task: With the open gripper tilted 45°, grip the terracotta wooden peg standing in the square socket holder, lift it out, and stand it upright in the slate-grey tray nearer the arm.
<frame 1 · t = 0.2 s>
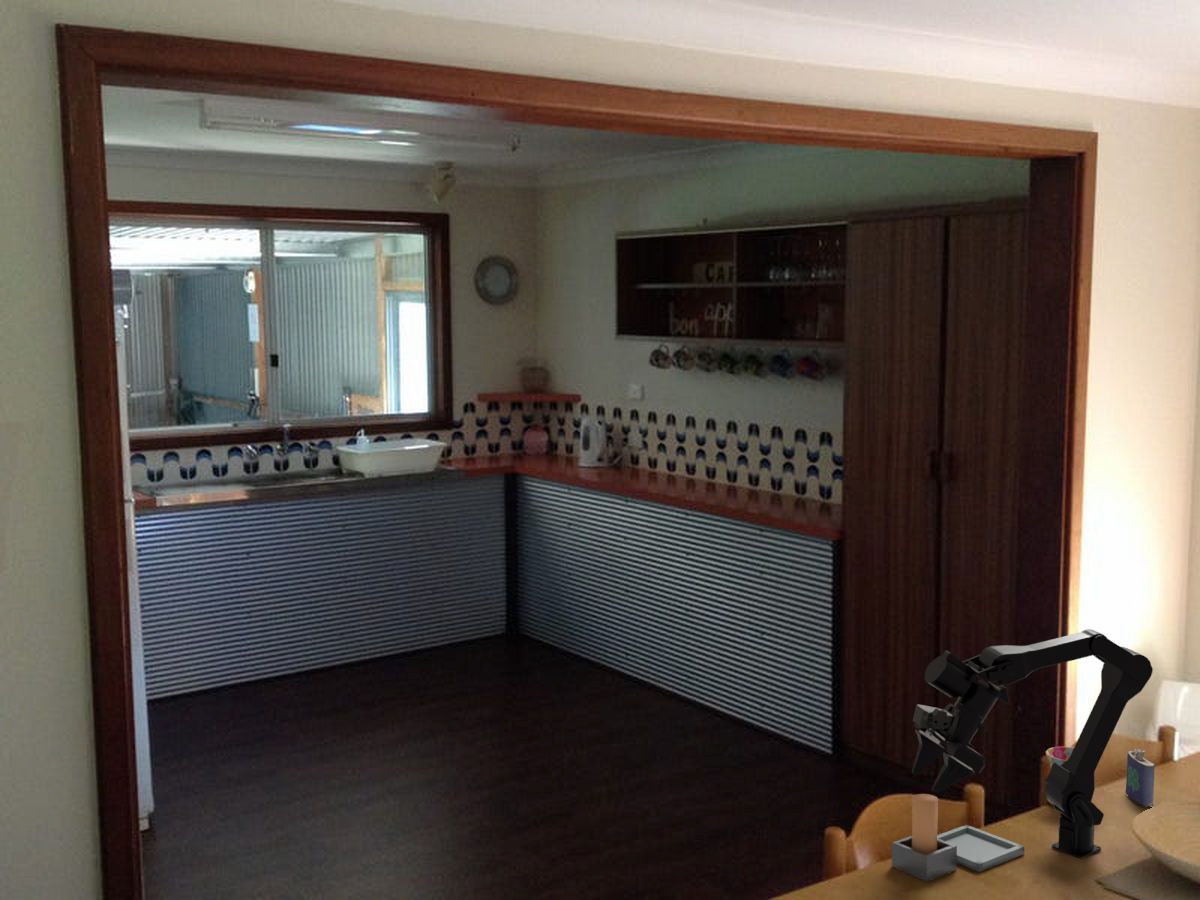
hand: (923, 782, 234), 15 cm above the table, tool tilted 35°, fingers open, 9 cm apart
square socket holder: (924, 868, 232), on the table
flask: (1138, 801, 264), on the table
peg: (924, 833, 231), in the square socket holder
mug: (1073, 804, 263), on the table
tray: (972, 851, 239), on the table
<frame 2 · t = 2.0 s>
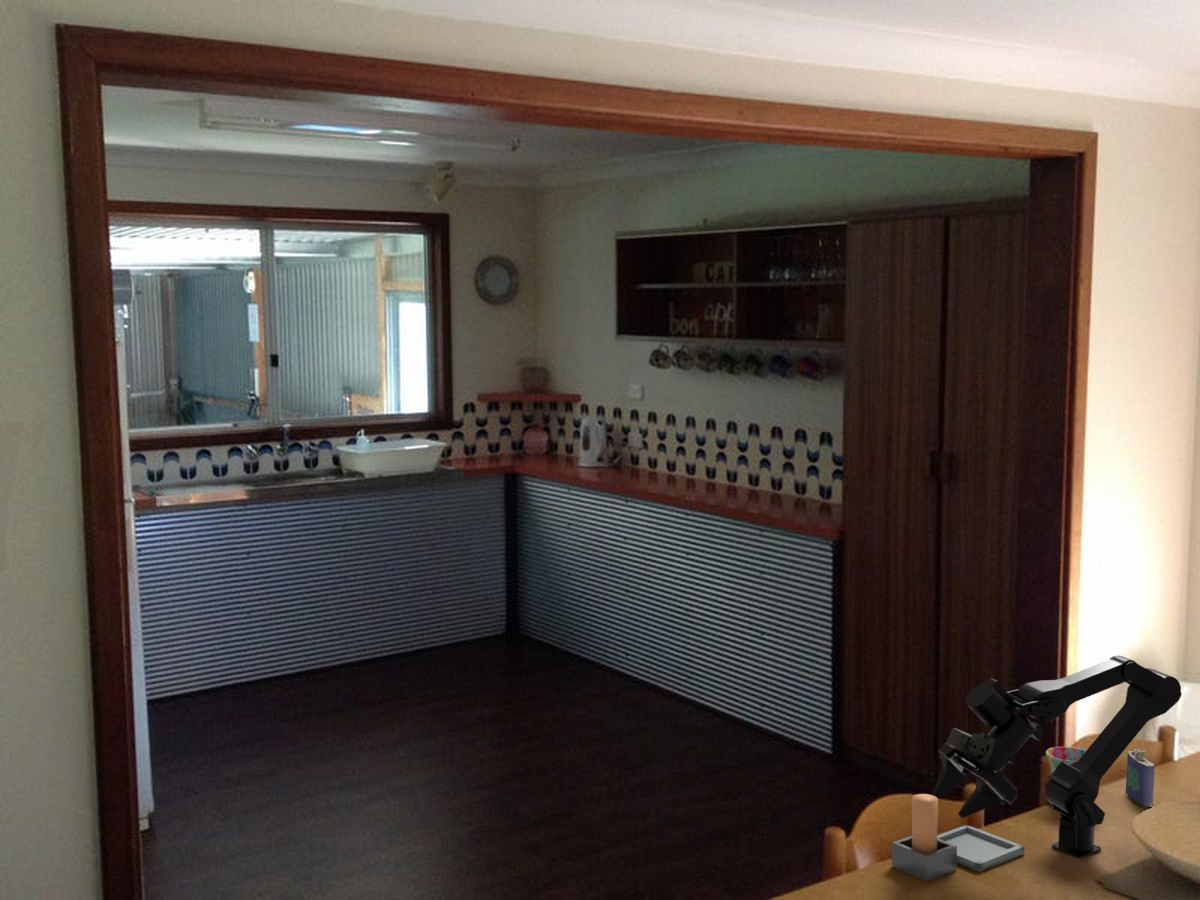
hand: (946, 806, 232), 11 cm above the table, tool tilted 45°, fingers open, 9 cm apart
nothing on the table moved.
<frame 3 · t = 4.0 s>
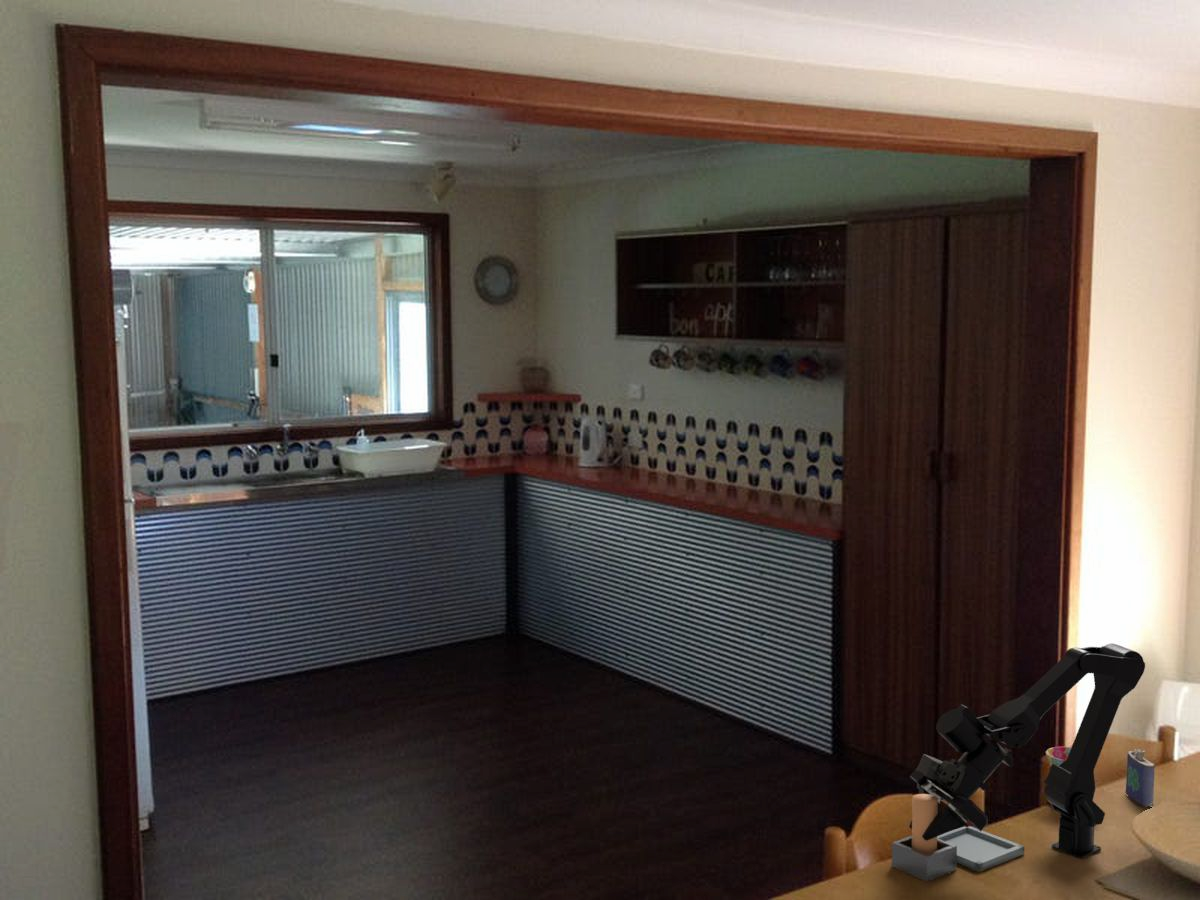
hand: (917, 833, 231), 7 cm above the table, tool tilted 45°, fingers closed on peg, 4 cm apart
peg: (924, 833, 231), in the square socket holder, touching gripper
everything else where it was.
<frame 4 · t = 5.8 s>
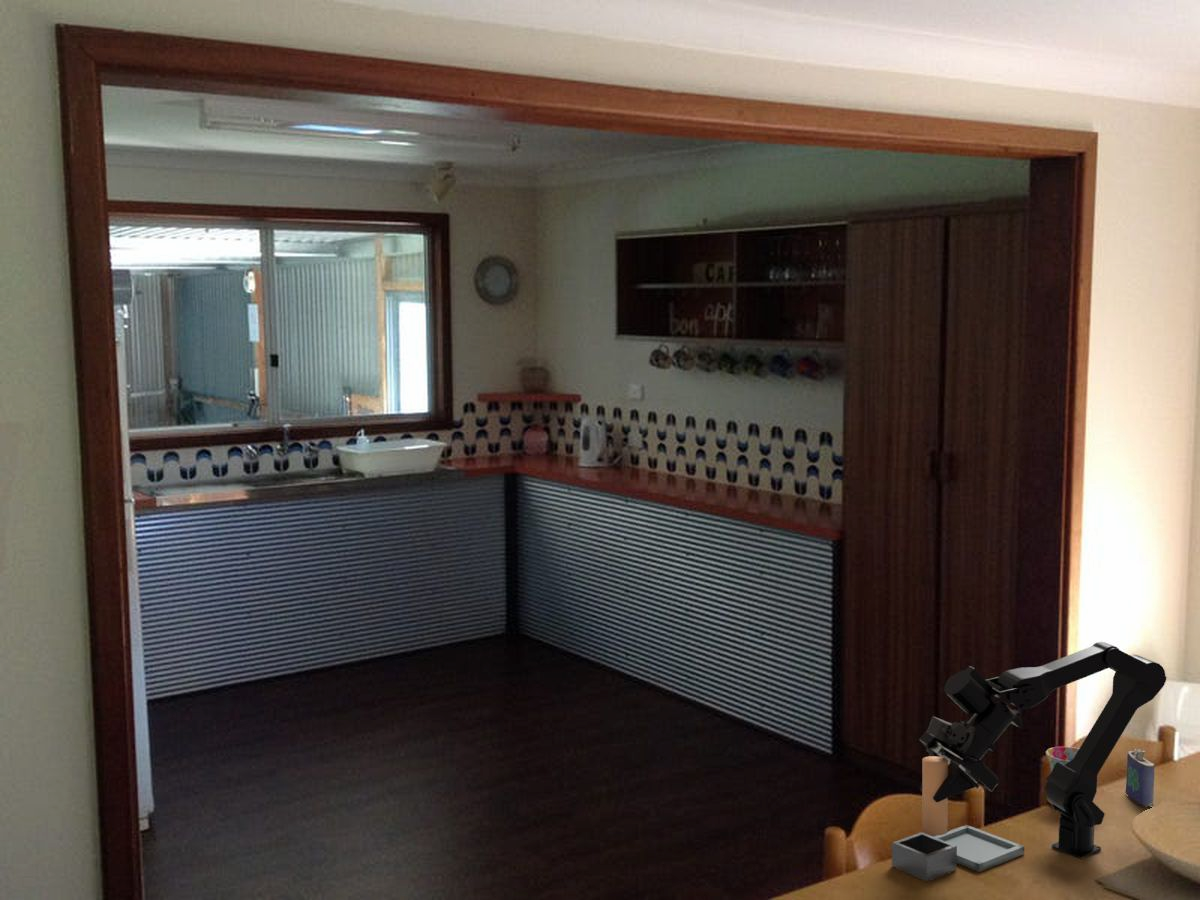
hand: (928, 795, 231), 13 cm above the table, tool tilted 45°, fingers closed on peg, 4 cm apart
peg: (934, 795, 232), point 13 cm above the table, touching gripper
everything else where it was.
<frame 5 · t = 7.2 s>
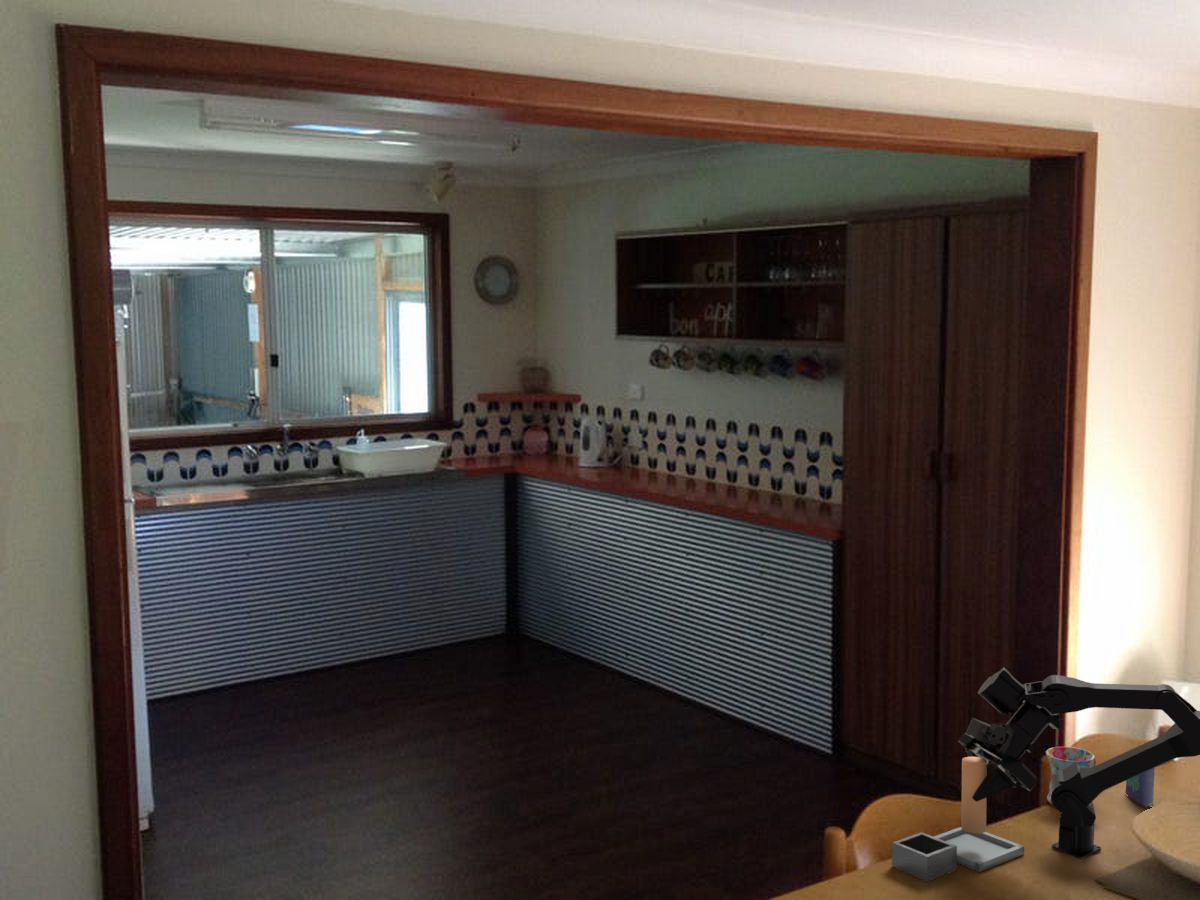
hand: (967, 795, 238), 11 cm above the table, tool tilted 45°, fingers closed on peg, 4 cm apart
peg: (974, 794, 238), point 11 cm above the table, touching gripper
everything else where it was.
when the fingers open (9 cm above the table, at t = 8.0 s): peg drops 1 cm, resting on tray.
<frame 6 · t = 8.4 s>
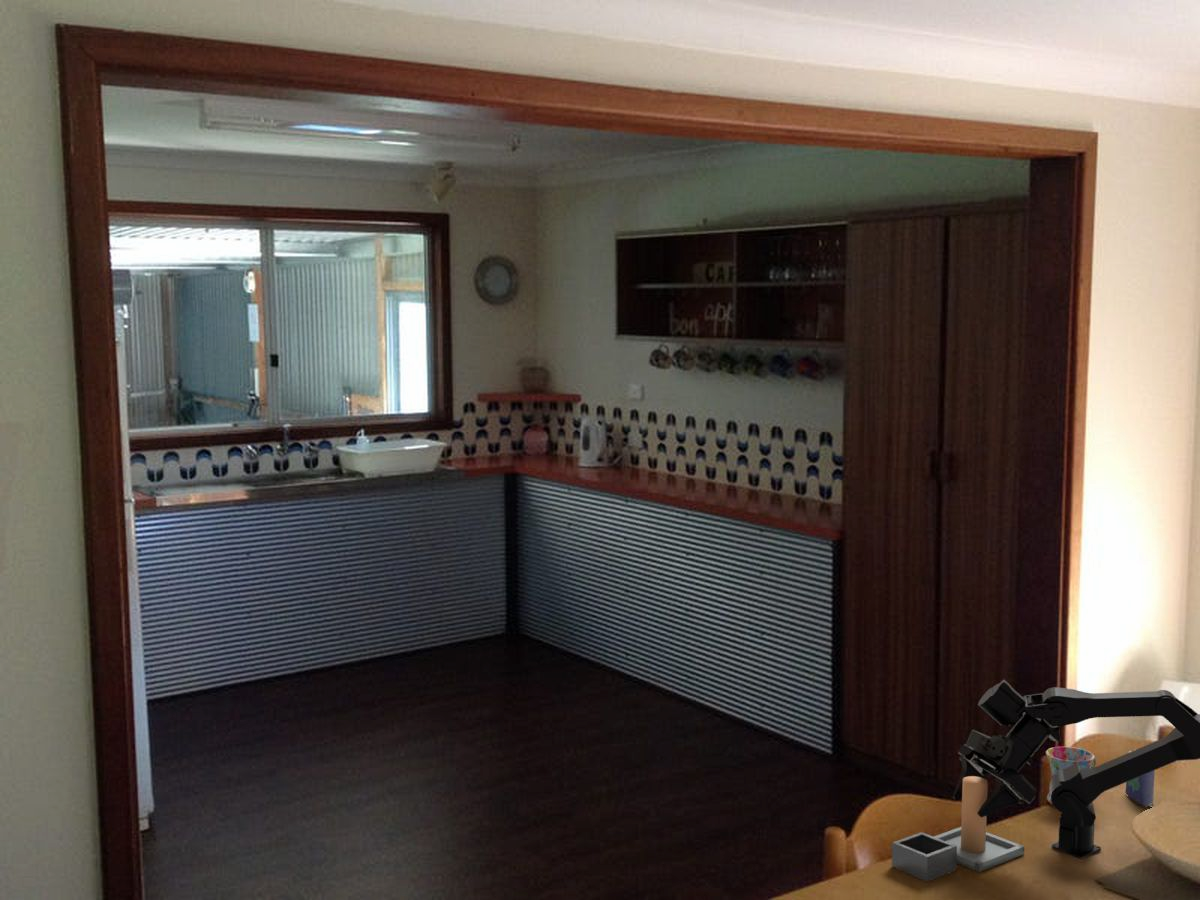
hand: (966, 807, 238), 9 cm above the table, tool tilted 45°, fingers open, 8 cm apart
peg: (974, 814, 238), point 7 cm above the table, touching tray
everything else where it was.
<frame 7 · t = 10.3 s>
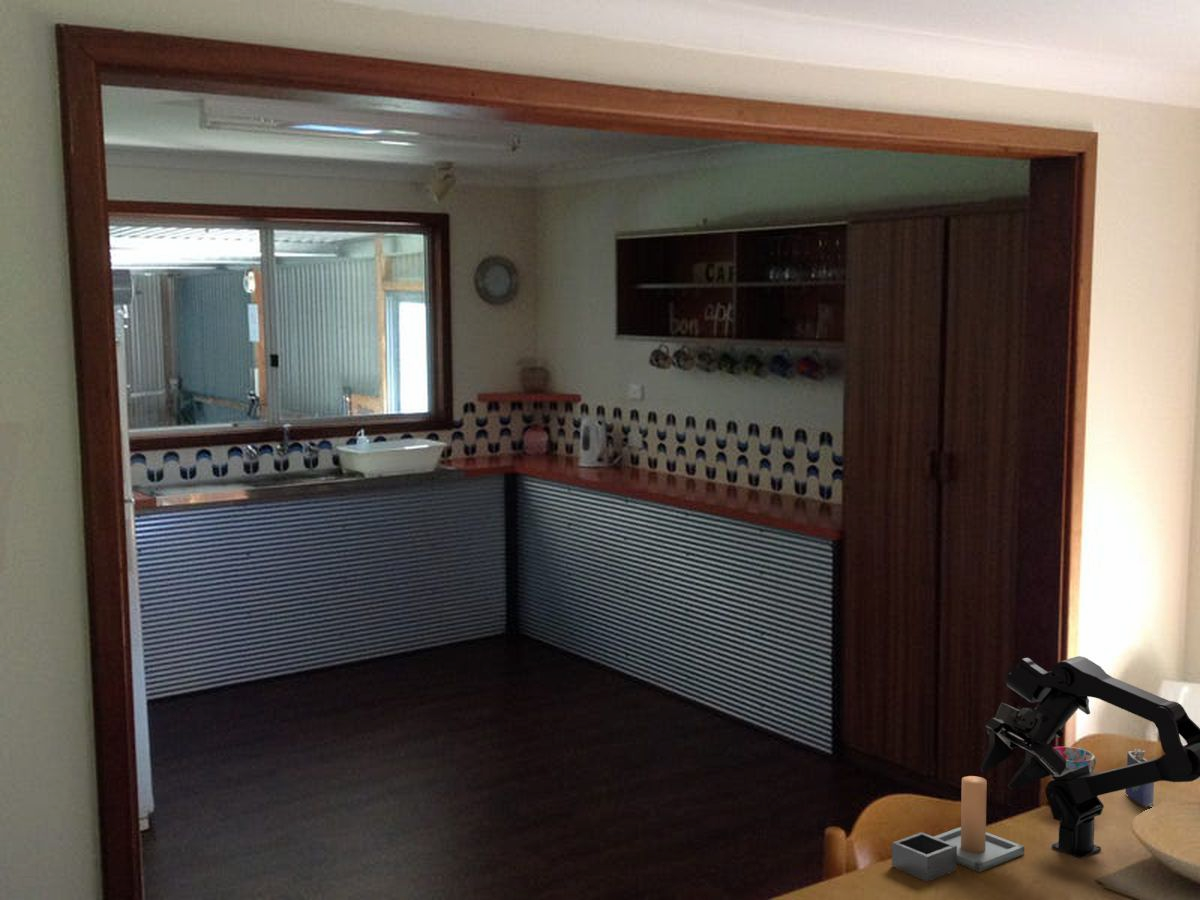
hand: (996, 779, 238), 14 cm above the table, tool tilted 45°, fingers open, 9 cm apart
nothing on the table moved.
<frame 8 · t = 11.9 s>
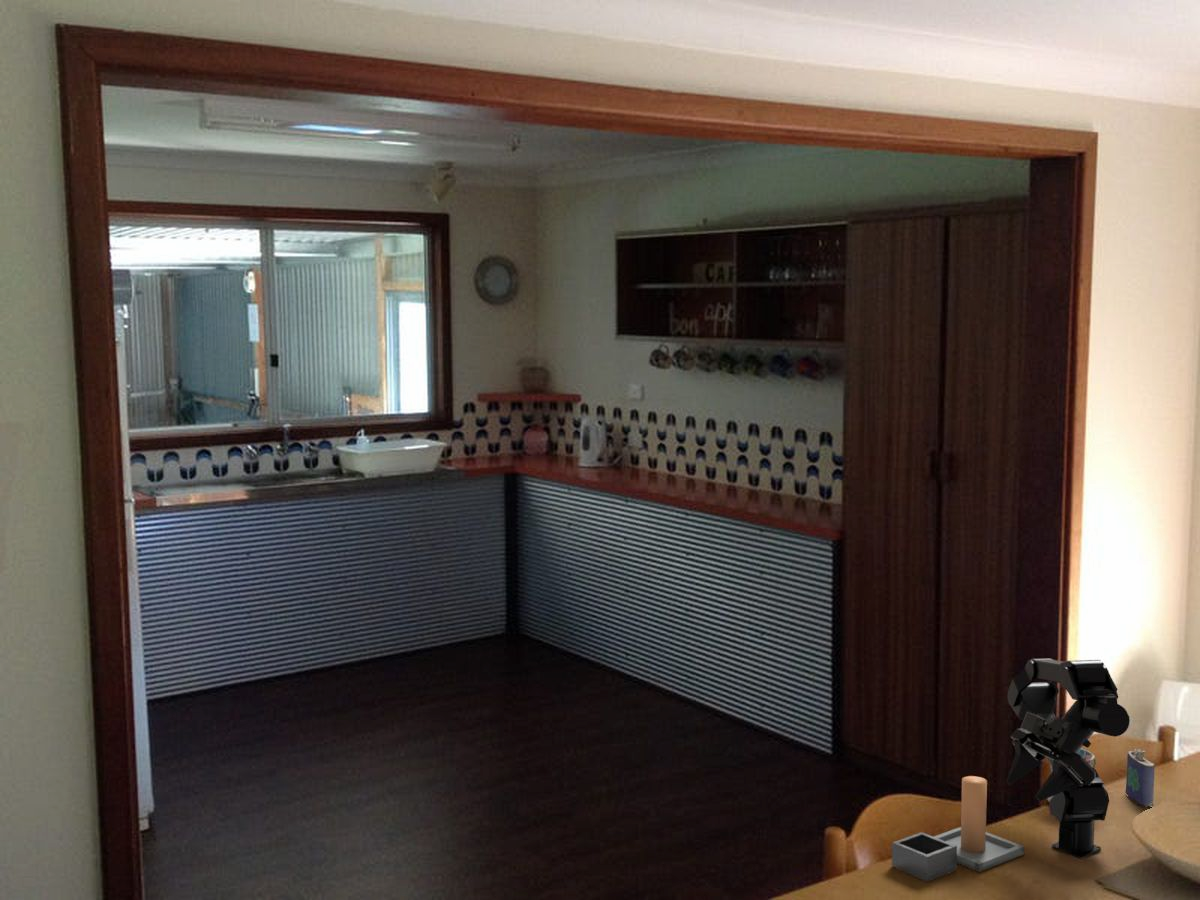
hand: (1022, 791, 232), 14 cm above the table, tool tilted 45°, fingers open, 9 cm apart
nothing on the table moved.
at the end: peg inside the target area on the tray (0.1 cm from its centre), point 7.1 cm above the tray's base; peg tilted 0°; the gripper is holding nothing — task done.
